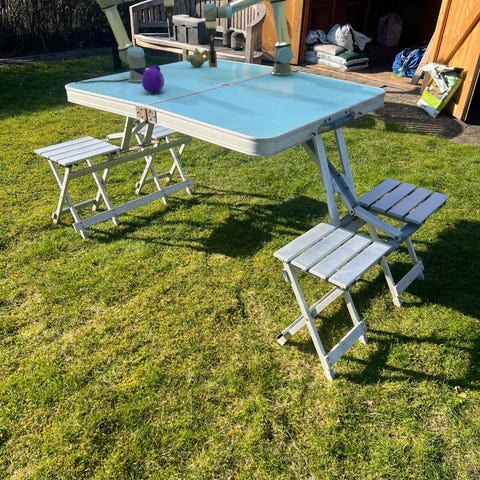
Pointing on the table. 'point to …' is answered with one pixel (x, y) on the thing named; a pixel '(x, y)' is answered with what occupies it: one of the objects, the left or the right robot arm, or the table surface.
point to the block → (211, 65)
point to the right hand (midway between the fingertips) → (212, 62)
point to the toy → (152, 79)
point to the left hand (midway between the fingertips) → (171, 36)
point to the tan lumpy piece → (197, 58)
